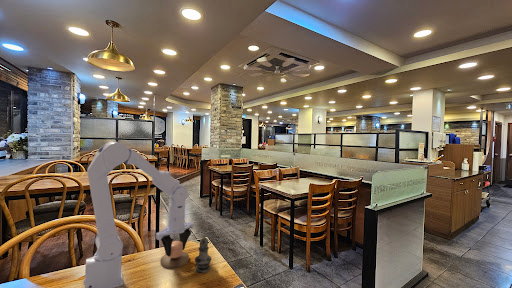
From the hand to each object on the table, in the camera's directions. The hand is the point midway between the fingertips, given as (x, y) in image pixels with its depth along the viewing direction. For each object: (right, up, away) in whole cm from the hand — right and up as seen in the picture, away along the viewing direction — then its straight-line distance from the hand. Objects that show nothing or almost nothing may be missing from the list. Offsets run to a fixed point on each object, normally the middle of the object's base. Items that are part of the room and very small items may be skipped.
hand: (175, 252), depth 82 cm
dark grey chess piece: (+11, -4, -4) cm, 13 cm away
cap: (0, -1, 0) cm, 1 cm away
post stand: (0, -3, 0) cm, 3 cm away
